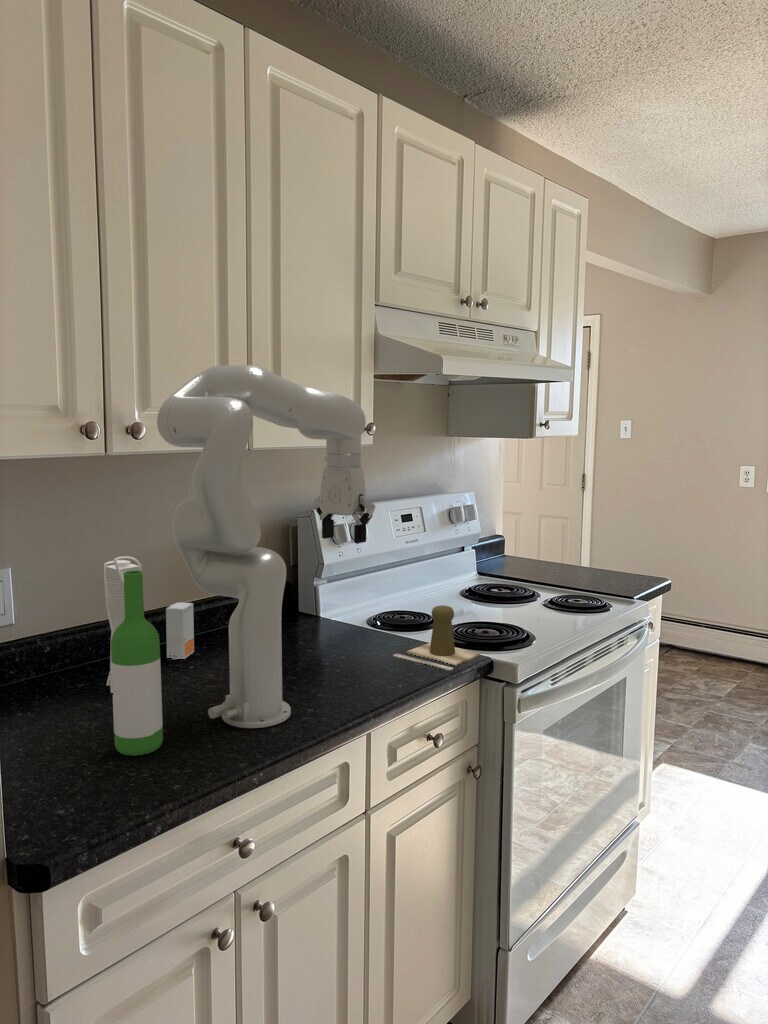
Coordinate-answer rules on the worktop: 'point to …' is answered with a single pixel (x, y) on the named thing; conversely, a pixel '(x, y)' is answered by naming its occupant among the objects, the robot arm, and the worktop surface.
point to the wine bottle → (136, 676)
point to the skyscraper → (116, 592)
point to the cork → (442, 632)
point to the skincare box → (180, 630)
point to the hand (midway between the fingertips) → (343, 540)
